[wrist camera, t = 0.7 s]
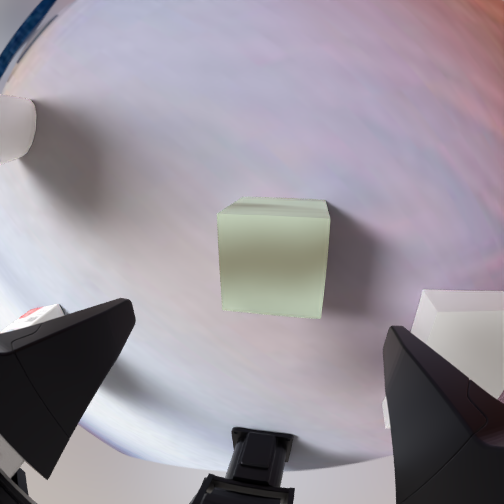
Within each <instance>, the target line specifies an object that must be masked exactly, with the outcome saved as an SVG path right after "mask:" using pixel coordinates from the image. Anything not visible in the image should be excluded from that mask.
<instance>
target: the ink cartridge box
mask: <svg viewBox="0 0 504 504" xmlns="http://www.w3.org/2000/svg"><path fill="white" fill-rule="evenodd" d="M61 316H64V313H63V311H62V309H61V307H60V305H59V304H55V305H50V306H45V307H41V308H36V309H32V310H30V311H28V312H27V313H26V314H24V315H23V316H21V317H20V318H19V319H17V320H16V321H15V322H13V323H12V324H10V325H9V326H8V327H6V328H5V329H4V330H3V331H1V332H0V334H1V333H5V332H9V331H13V330H17V329H21V328H25V327H28V326H32V325H35V324H38V323H41V322H45V321H48V320H51V319H55V318H58V317H61Z"/></svg>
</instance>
